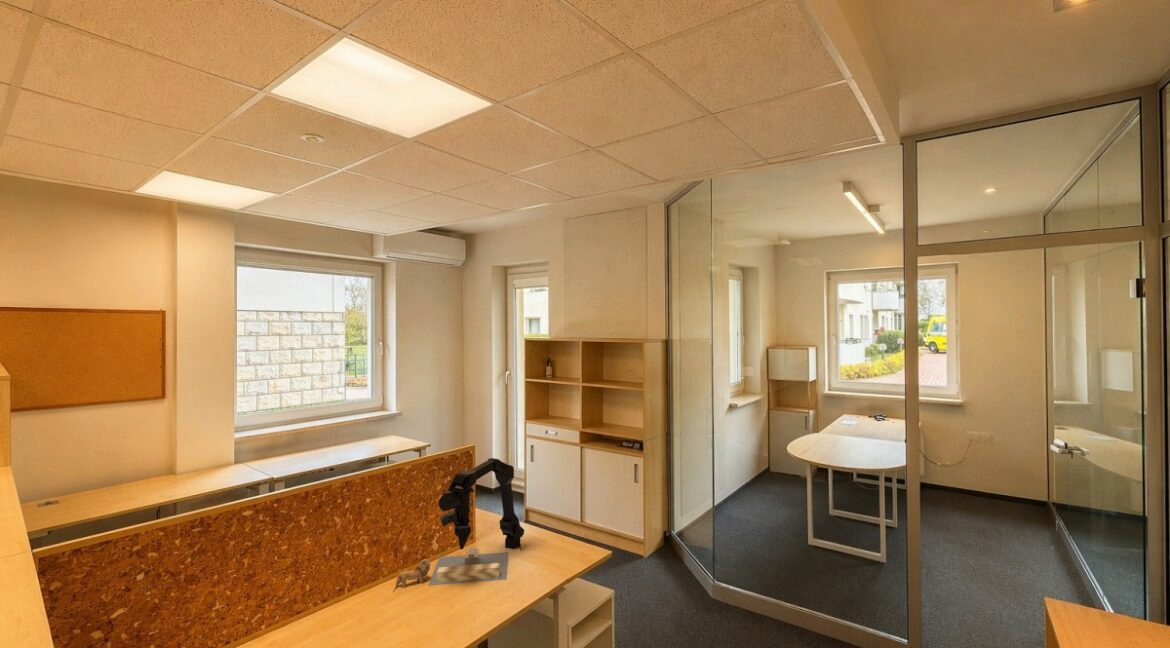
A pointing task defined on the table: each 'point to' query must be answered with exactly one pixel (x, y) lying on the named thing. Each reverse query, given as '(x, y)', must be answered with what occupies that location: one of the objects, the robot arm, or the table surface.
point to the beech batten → (468, 572)
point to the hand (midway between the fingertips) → (461, 545)
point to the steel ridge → (472, 556)
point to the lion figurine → (414, 574)
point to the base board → (483, 559)
